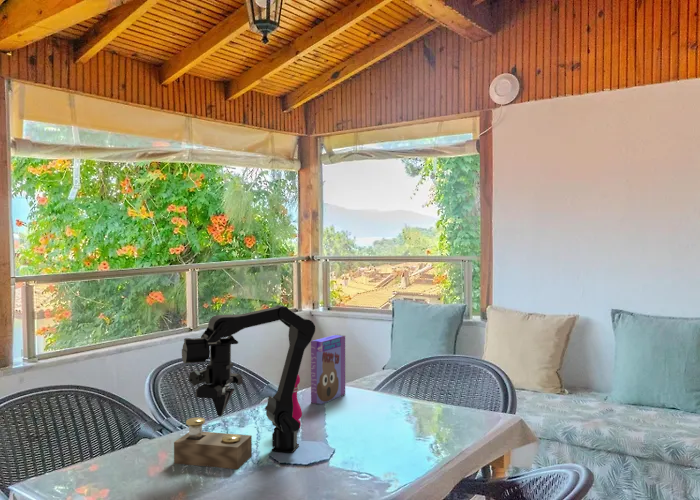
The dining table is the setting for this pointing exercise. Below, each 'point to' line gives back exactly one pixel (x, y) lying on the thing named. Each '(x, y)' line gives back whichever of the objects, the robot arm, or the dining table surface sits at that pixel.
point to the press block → (212, 451)
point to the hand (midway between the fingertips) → (219, 415)
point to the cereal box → (327, 369)
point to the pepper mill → (296, 402)
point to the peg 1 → (195, 428)
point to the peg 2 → (231, 438)
